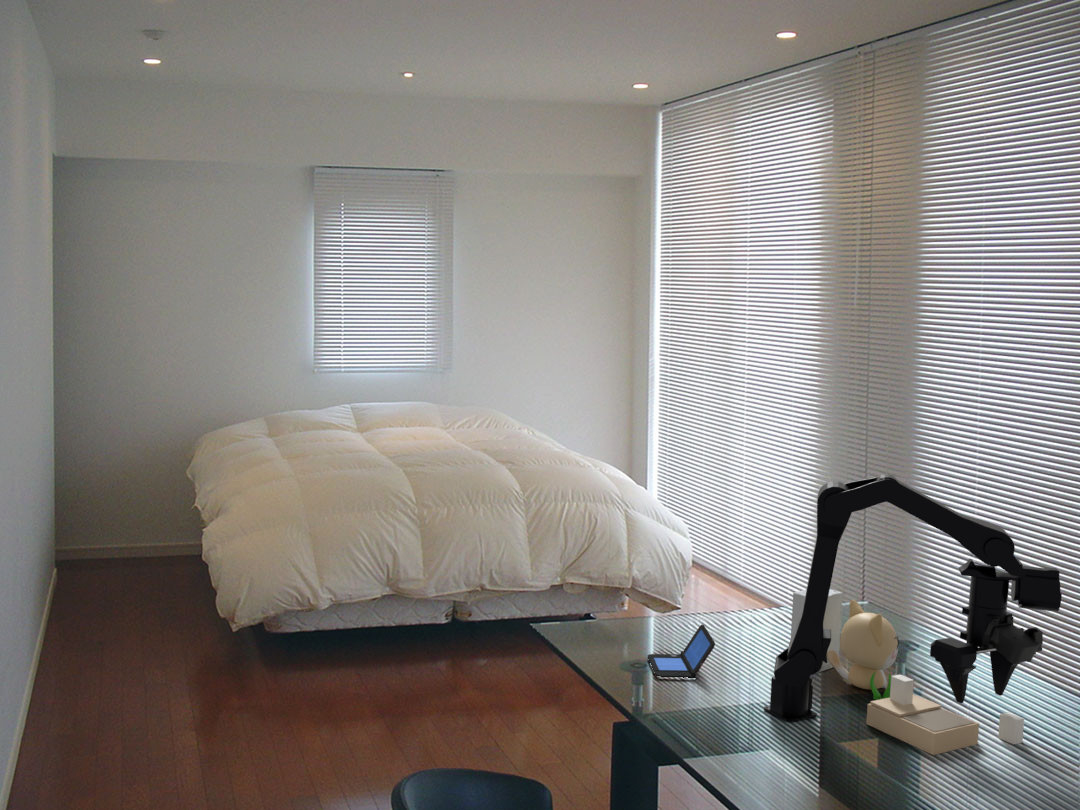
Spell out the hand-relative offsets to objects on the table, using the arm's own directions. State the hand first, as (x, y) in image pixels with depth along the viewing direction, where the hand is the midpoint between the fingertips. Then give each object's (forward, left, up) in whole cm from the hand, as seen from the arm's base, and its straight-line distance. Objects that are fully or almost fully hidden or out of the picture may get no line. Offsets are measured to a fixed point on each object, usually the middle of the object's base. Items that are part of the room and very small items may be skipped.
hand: (979, 698), depth 181 cm
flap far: (-8, +8, -3) cm, 12 cm away
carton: (-8, +4, -6) cm, 11 cm away
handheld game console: (-25, +47, -7) cm, 54 cm away
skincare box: (-1, +37, -6) cm, 38 cm away
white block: (+3, -2, -7) cm, 8 cm away
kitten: (0, +24, -6) cm, 25 cm away
